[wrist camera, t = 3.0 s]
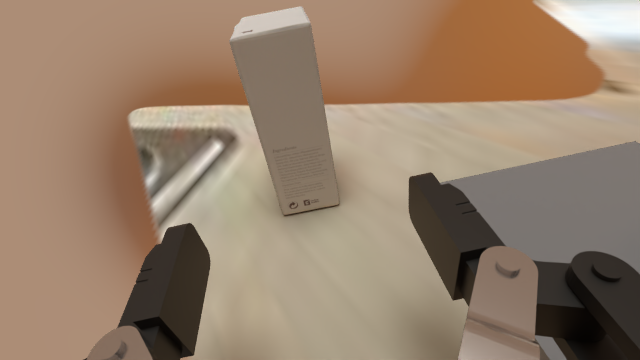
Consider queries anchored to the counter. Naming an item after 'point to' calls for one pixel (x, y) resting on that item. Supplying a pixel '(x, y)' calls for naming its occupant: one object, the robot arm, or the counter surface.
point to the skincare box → (287, 106)
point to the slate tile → (564, 209)
